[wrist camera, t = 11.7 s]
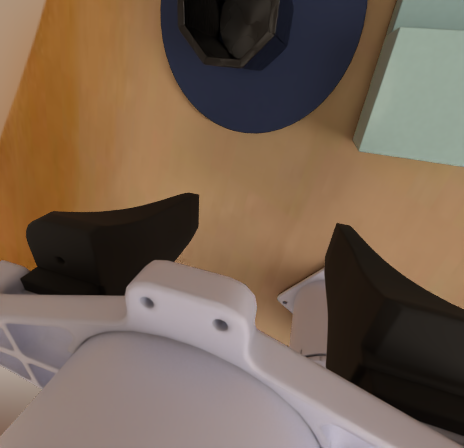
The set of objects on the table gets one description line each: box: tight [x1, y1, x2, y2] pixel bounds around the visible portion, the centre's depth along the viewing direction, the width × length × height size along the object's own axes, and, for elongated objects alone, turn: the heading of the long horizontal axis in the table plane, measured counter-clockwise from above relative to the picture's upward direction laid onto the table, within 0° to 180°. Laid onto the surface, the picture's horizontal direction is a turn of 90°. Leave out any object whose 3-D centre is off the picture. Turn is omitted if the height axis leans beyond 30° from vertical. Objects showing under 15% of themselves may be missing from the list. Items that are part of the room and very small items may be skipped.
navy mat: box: [161, 0, 367, 133], centre depth 18 cm, size 14×14×1 cm
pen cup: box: [177, 0, 294, 71], centre depth 15 cm, size 5×5×6 cm
